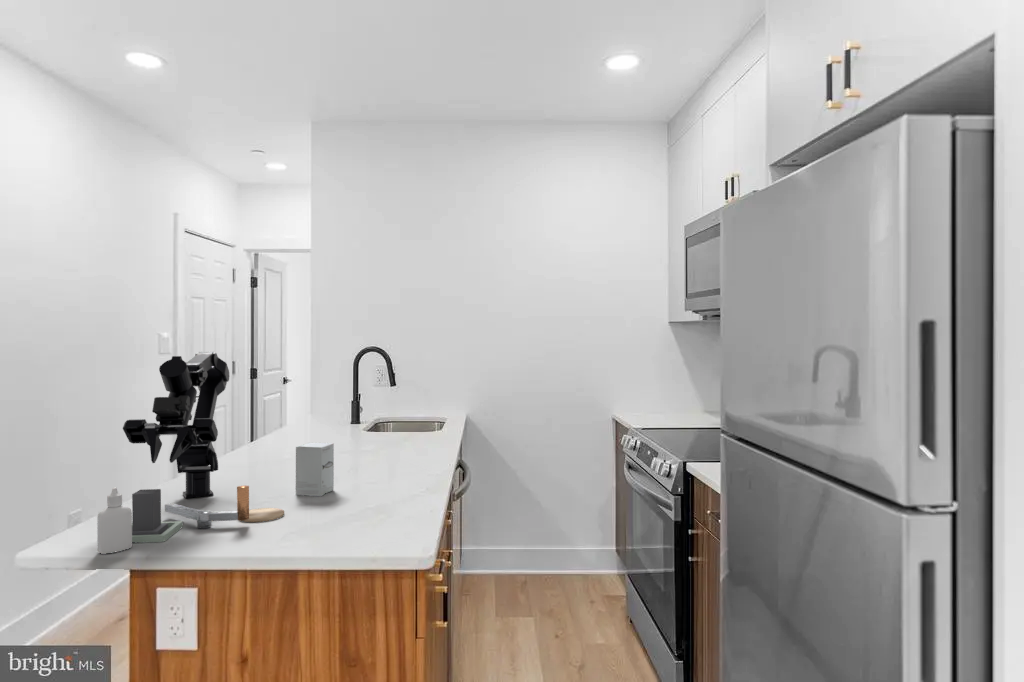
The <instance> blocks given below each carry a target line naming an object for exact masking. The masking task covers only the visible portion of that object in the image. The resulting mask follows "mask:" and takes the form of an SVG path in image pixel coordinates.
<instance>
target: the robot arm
mask: <svg viewBox="0 0 1024 682" xmlns="http://www.w3.org/2000/svg"><path fill="white" fill-rule="evenodd" d="M159 373H160V376H161V380H162V382H163V386H164V388H165V389H164V390H165V391H166V392H169V393H168V396H156V397H154V400H153V406H152V413H154V414H155V420H156V422H158V423H155V422H147V420H146V419H141V418H140V419H127V420H126V421H124V423H123V426H122V430H123V432H124V433H125V436H126V438H127V440H128V442H129V443H131V444H147V446H149V452H150V460H151V463H152V464H155V463H156V461H157V460H158V457H159V454H160V451H161V449H162V445H163V442H162V441H161V436H176V438H175V442H174V444H173V447H172V449H171V452H170V454H169V455H170V456H169V463H170V464H171V463H172V464H173V463H174V462H175V461H176V468H177V474H184V473H185V491H182V495H183V496H184V499H193V497H194V498H199V497H200V498H201V496H202V497H208V496H209V495H210V496H214V492H213V490H211V473H212V472H215V471H218V470H219V460H218V456H217V453H216V451H215V448H214V445H213V443H214V442H216V441H217V439H218V435H219V432H218V428H217V425H216V422H215V420H214V417H215V416H214V415H215V410H216V405H217V399H218V396H219V395H220V394H222V393H223V392H224V391H225V390H226V388H227V387H226V386H227V384H228V383H229V381H230V369H229V367H228V364H227V362H226V361H224V360H223V359H221V358H220V357H219V356H218V353H217V352H214V351H198V352H196V353H195V355H194V356H192V357H191V359H189V360H188V361H184V360H183V357H182V355H177V356H176V355H174V356H173V355H172V356H171V359H169V360H166V361H164V362H163V363H162V364H161V365H160V366H159ZM196 387H197V389H198V390H197V389H196ZM197 391H199V393H198V392H197ZM197 394H198V397H197ZM196 397H197V398H198V399H197V398H196ZM195 403H196V408H195V410H194V411H195V412H194V416H193V414H192V411H193V407H194V405H195ZM192 418H193V420H192ZM189 421H192V424H189ZM210 496H209V497H210Z"/></svg>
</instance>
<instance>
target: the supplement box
mask: <svg viewBox="0 0 1024 682" xmlns="http://www.w3.org/2000/svg"><path fill="white" fill-rule="evenodd" d="M334 444H335V443H332V442H307V443H305V444H301V445H299V446H298V445H297V446H295V496H304V495H309V496H308V497H322V496H324V495H326V494H328V493H329V492H332V490H333V491H334V490H335V489H334V486H335V485H334V479H335V477H334V474H335V473H334V470H335V468H334V467H335V466H334V465H335V464H334V463H335V462H334V459H335V457H334V456H335V452H334V451H335V450H334V448H335V447H334V446H335V445H334ZM325 493H326V494H325Z"/></svg>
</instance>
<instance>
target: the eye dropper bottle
mask: <svg viewBox="0 0 1024 682" xmlns="http://www.w3.org/2000/svg"><path fill="white" fill-rule="evenodd" d="M106 506H107V507H106V508H104V509H102V510H100V511H99V512H98V514H97V516H96V517H97V523H96V525H97V527H96V528H97V531H96V532H97V533H96V534H97V541H96V542H97V553H99V554H100V553H101V555H107V554H106V553H111V552H115V551H121V550H124V551H126V550H125V549H127V550H129V548H130V549H131V548H132V547H133V543H132V508H130V507H129V506H126V505H123V494H122V493H119V491H118V488H117V487H112V489H111V493H110V494H108V495H107V501H106ZM121 552H122V551H121Z"/></svg>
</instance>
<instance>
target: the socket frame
mask: <svg viewBox="0 0 1024 682" xmlns="http://www.w3.org/2000/svg"><path fill="white" fill-rule="evenodd" d="M162 523H168V528H169V529H167V530H166V531H165V532H163V533H162V534H157V535H132V542H135V543H134V544H136V543H137V542H143V543H159V542H161V543H162V542H164V541H165V542H166V541H167V540H168V539H170V538H171V537H172V536H174V535H175V534H176V533H177V532H178V531H179V530H181V529H182V528H183V527H184V521H183V520H177V521H176V520H175V521H161V524H162ZM181 527H182V528H181ZM132 528H133V524H132ZM180 528H181V529H180Z"/></svg>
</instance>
